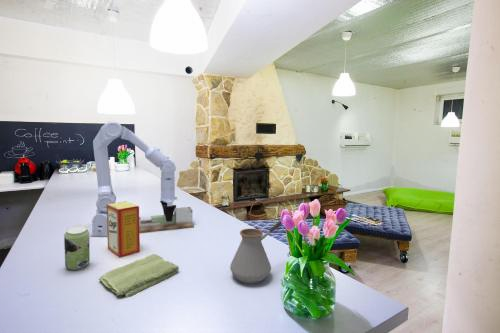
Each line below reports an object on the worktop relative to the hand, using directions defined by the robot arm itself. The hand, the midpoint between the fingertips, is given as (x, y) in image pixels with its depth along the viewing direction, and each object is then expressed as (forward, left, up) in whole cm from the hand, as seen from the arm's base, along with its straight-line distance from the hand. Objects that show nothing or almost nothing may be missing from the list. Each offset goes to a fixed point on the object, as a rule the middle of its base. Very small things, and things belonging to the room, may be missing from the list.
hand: (168, 218), depth 116 cm
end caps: (0, +1, -2) cm, 2 cm away
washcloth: (-44, -4, -4) cm, 44 cm away
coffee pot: (-40, -38, -3) cm, 56 cm away
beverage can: (-38, +16, -3) cm, 42 cm away
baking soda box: (-26, +8, -3) cm, 28 cm away
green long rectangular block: (0, 0, -2) cm, 2 cm away
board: (0, +1, -3) cm, 3 cm away
